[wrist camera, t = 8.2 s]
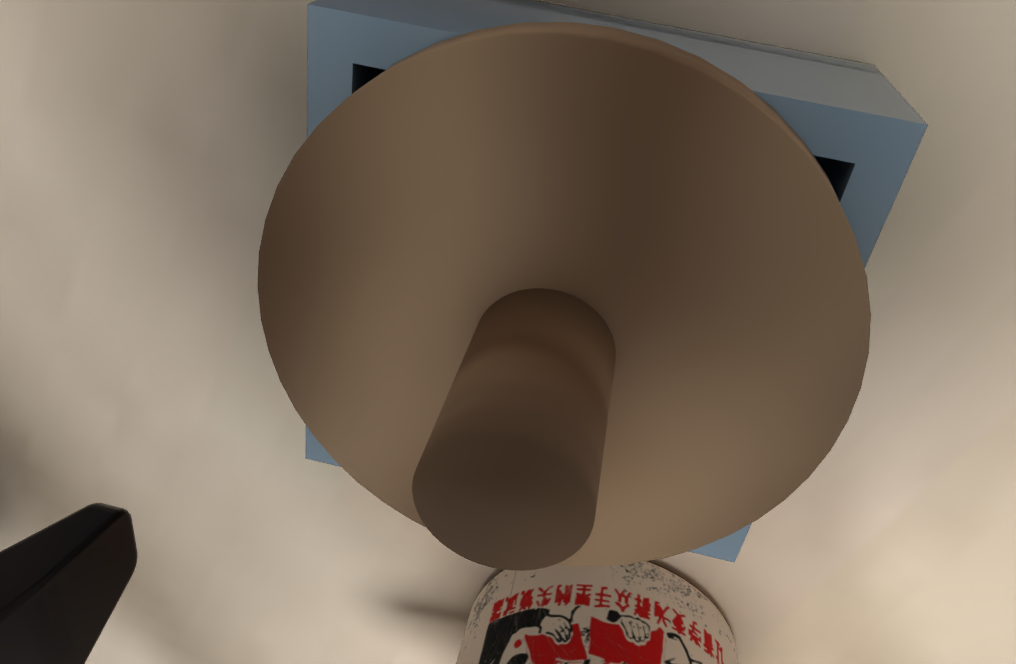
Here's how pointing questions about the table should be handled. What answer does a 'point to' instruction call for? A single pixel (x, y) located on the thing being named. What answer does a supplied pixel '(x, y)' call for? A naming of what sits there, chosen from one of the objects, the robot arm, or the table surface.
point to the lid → (565, 296)
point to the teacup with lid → (595, 619)
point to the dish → (762, 68)
